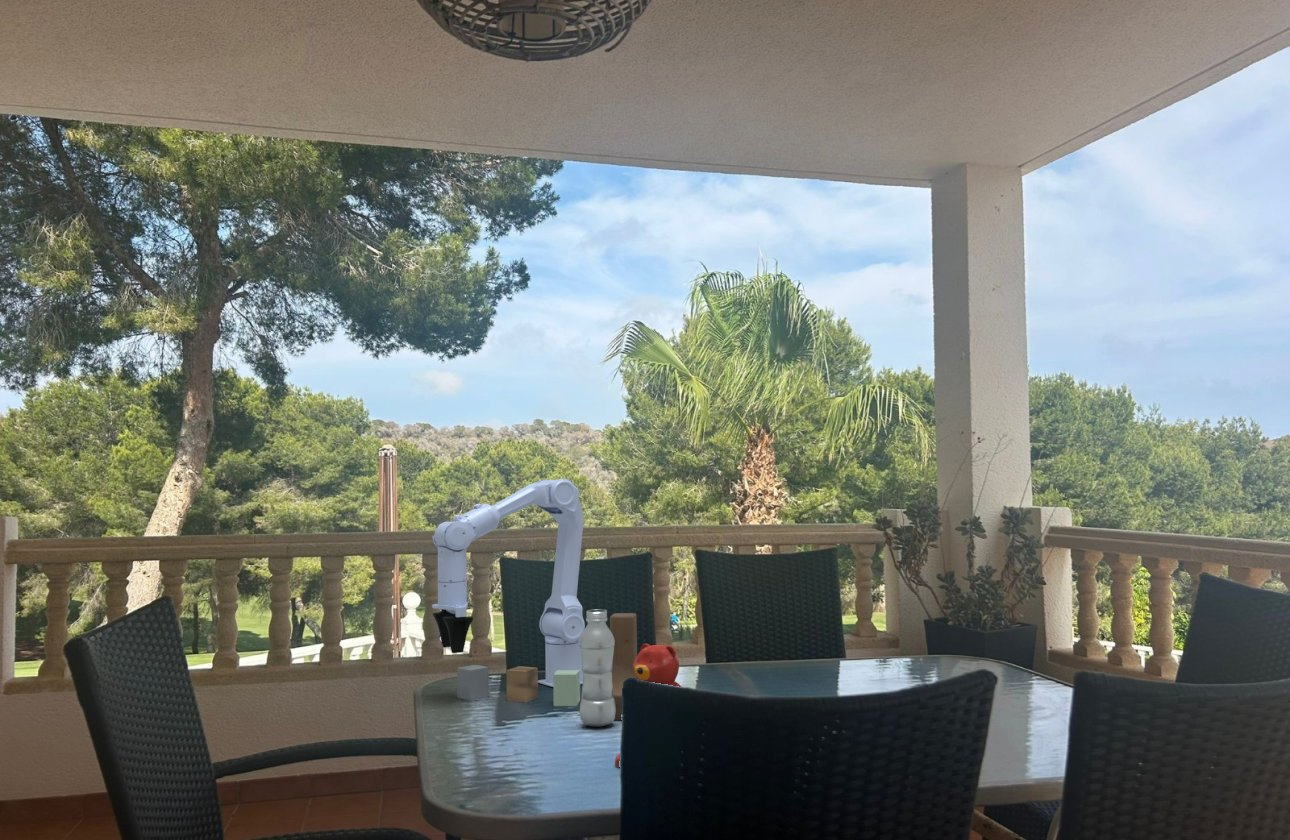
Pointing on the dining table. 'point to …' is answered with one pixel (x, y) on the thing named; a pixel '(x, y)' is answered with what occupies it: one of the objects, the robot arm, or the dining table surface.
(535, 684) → the walnut block
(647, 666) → the stacking bear
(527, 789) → the dining table surface
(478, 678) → the grey block
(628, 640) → the wooden block
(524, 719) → the dining table surface
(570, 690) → the sage block
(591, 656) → the plastic bottle
